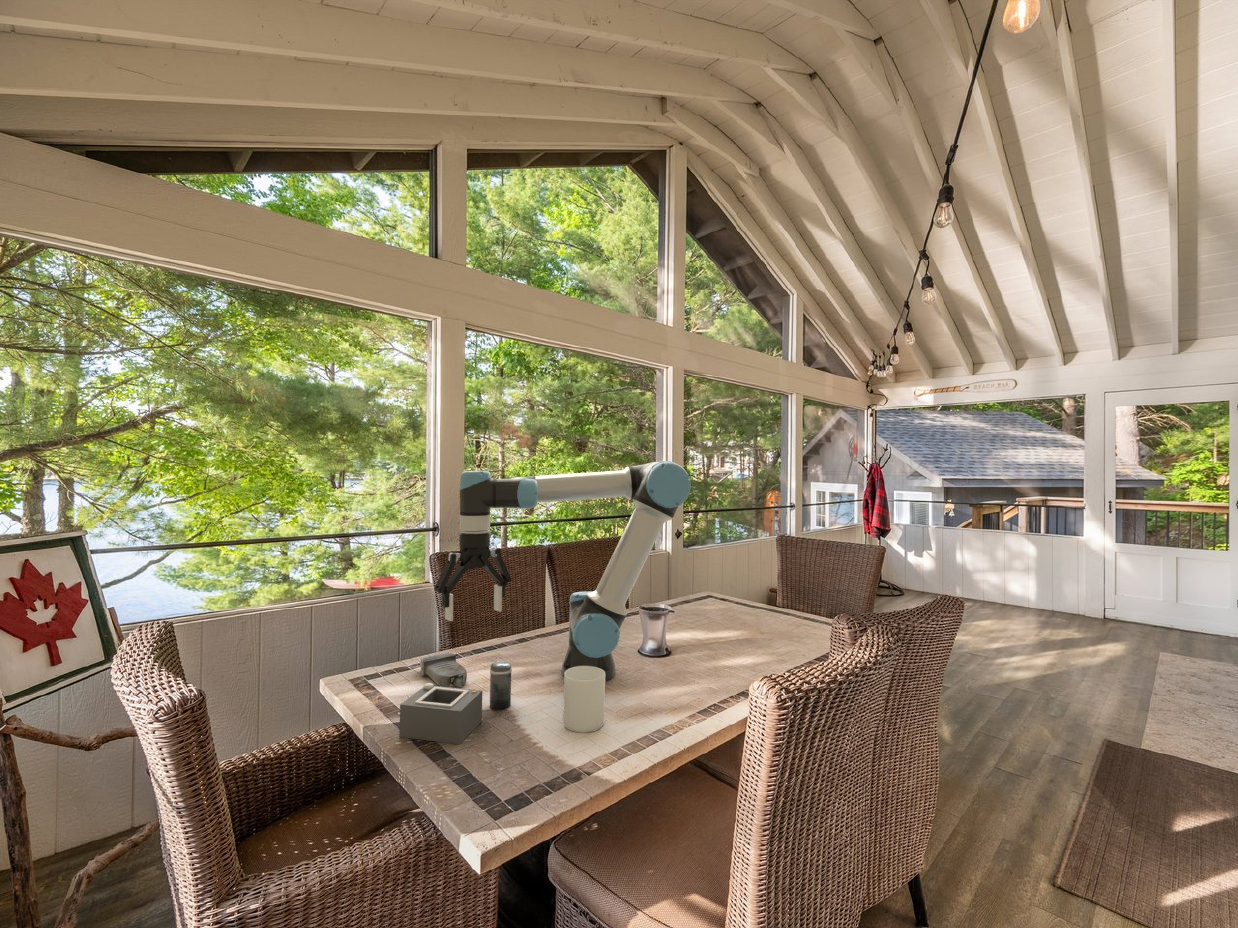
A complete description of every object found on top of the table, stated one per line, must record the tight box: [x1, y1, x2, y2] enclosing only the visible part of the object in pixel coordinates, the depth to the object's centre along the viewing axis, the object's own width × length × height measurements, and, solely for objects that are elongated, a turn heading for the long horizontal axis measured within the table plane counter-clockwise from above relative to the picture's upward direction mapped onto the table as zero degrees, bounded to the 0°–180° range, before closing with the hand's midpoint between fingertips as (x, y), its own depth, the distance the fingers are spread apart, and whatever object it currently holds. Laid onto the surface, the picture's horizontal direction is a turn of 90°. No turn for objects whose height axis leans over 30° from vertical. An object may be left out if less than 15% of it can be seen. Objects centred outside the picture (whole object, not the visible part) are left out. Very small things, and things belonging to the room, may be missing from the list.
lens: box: [489, 661, 513, 711], centre depth 138 cm, size 5×5×10 cm
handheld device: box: [419, 652, 468, 688], centre depth 154 cm, size 10×20×5 cm, turn 40°
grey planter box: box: [398, 682, 483, 745], centre depth 126 cm, size 14×11×8 cm
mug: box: [562, 666, 606, 734], centre depth 130 cm, size 10×12×12 cm
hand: (474, 615), depth 143 cm, fingers open, 13 cm apart
